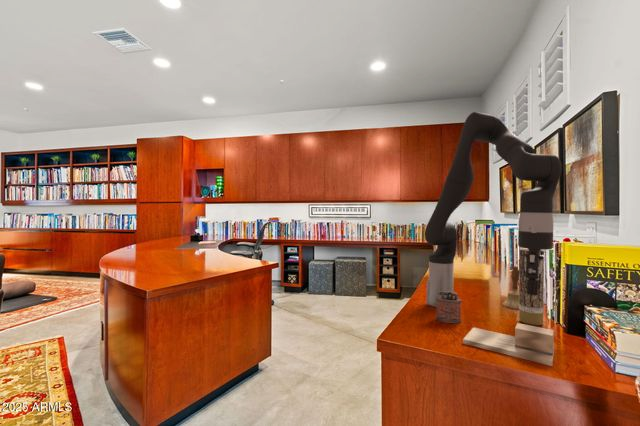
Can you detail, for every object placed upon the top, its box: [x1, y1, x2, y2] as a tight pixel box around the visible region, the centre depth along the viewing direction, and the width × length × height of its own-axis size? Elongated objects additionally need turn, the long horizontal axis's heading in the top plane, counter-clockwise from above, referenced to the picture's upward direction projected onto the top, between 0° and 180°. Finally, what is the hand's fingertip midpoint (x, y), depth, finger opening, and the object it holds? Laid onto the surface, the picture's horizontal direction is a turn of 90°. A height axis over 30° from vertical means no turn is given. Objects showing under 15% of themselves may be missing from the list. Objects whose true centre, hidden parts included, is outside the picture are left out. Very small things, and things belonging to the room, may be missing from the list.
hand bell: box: [502, 266, 520, 310], centre depth 124 cm, size 8×8×16 cm
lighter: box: [435, 291, 462, 324], centre depth 106 cm, size 8×3×10 cm, turn 71°
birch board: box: [462, 326, 555, 367], centre depth 85 cm, size 20×12×1 cm, turn 51°
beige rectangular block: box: [514, 322, 555, 357], centre depth 81 cm, size 8×5×5 cm, turn 51°
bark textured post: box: [518, 247, 545, 326], centre depth 105 cm, size 7×7×25 cm
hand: (533, 291), depth 81 cm, fingers open, 8 cm apart
